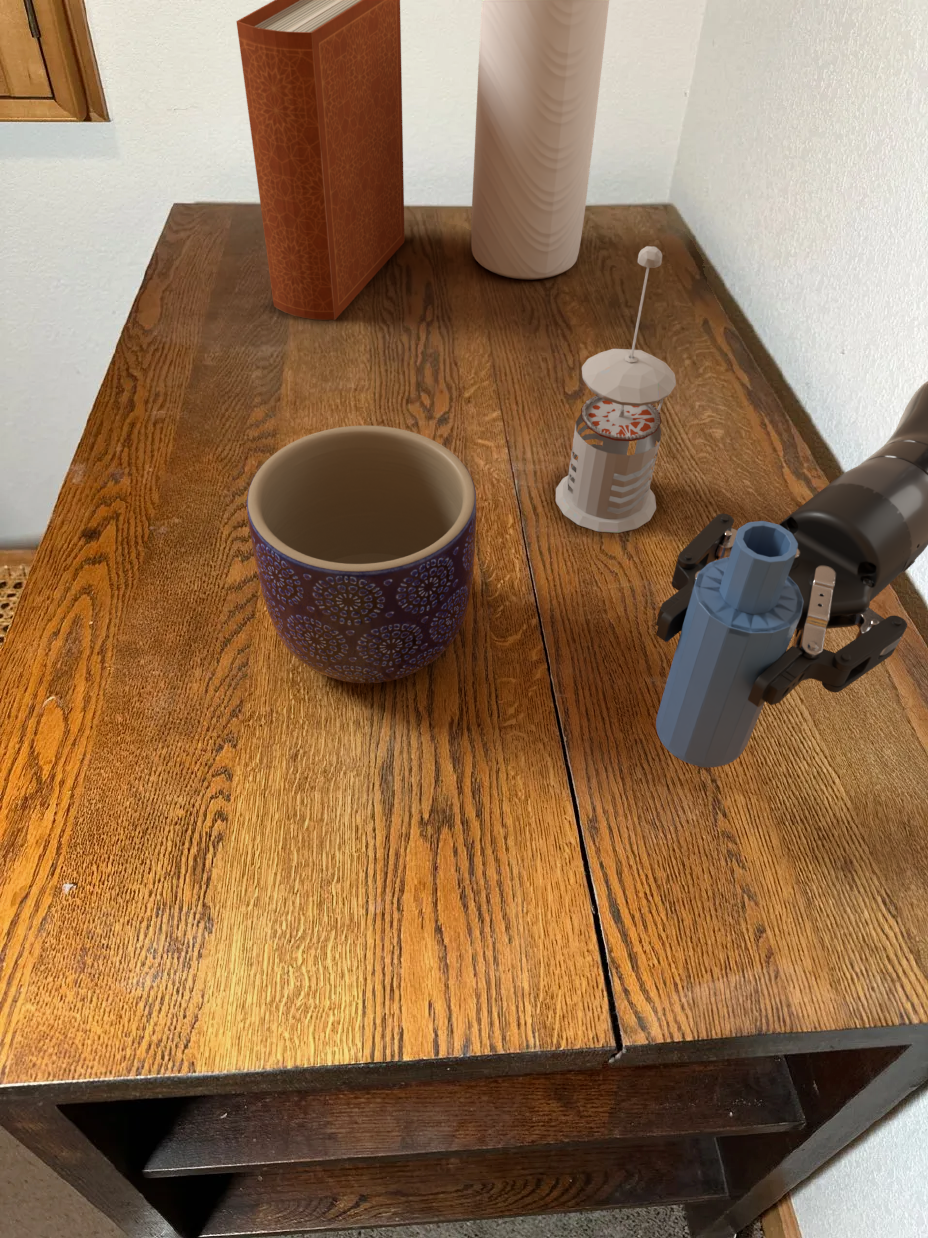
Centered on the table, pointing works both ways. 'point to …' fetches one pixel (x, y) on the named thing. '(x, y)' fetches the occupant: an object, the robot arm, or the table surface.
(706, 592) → the blue bottle
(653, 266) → the french press
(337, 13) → the book
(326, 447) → the planter
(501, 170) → the vase
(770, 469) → the table surface
